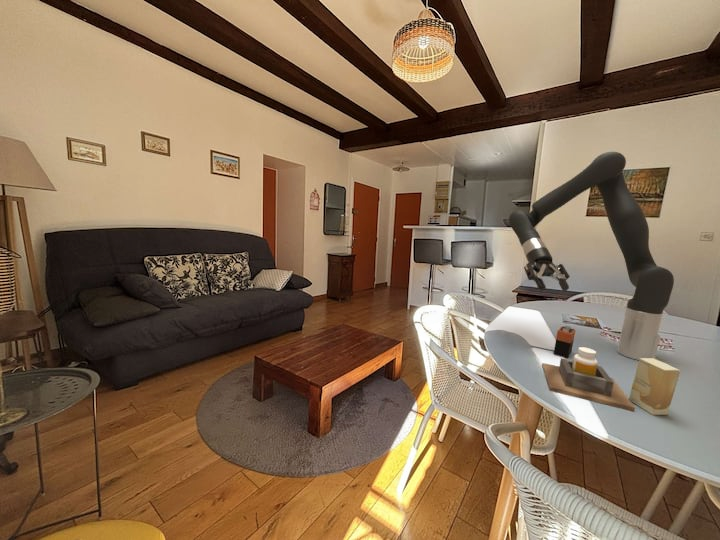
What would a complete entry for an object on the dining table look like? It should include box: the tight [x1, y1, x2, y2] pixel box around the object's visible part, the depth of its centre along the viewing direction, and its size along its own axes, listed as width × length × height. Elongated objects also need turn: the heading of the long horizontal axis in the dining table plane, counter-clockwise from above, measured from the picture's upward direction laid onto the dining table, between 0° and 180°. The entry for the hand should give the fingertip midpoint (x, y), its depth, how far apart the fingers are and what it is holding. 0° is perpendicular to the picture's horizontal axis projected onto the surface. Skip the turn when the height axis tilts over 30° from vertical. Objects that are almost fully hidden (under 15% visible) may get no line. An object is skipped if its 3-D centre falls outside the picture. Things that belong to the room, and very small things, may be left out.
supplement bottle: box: [572, 346, 599, 376], centre depth 82 cm, size 5×5×10 cm
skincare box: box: [628, 358, 681, 416], centre depth 73 cm, size 6×4×12 cm
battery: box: [553, 324, 576, 359], centre depth 103 cm, size 4×7×10 cm, turn 135°
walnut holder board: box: [541, 357, 636, 412], centre depth 83 cm, size 18×16×5 cm
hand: (554, 289), depth 100 cm, fingers open, 8 cm apart
